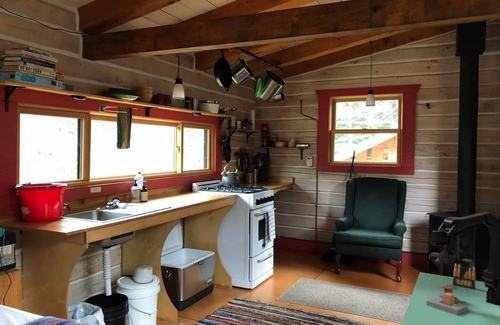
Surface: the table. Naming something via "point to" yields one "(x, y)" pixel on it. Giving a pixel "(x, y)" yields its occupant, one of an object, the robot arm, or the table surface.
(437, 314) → the table surface
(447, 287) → the brown door knob
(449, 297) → the tab
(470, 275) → the ammunition clip
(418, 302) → the table surface
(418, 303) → the table surface
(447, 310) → the notched board
